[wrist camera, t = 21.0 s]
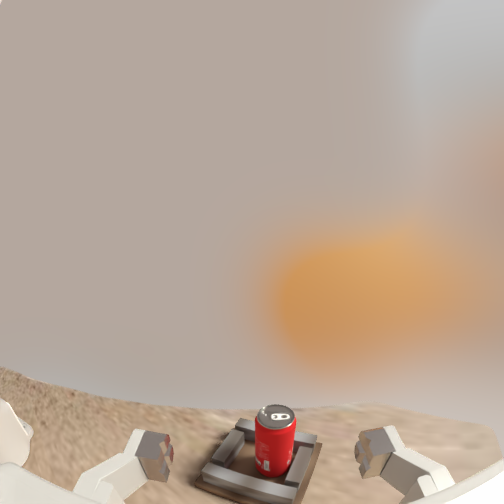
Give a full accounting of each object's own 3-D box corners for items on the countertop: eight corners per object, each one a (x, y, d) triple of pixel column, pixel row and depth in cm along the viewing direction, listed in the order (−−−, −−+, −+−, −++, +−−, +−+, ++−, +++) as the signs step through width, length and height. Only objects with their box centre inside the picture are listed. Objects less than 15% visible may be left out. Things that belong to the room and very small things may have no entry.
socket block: (195, 485, 31) (191, 472, 30) (238, 427, 44) (237, 412, 43) (294, 517, 25) (298, 506, 24) (321, 446, 38) (324, 432, 38)
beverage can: (255, 455, 37) (255, 403, 34) (288, 454, 36) (294, 402, 34) (255, 479, 31) (254, 430, 29) (291, 478, 31) (298, 429, 29)
